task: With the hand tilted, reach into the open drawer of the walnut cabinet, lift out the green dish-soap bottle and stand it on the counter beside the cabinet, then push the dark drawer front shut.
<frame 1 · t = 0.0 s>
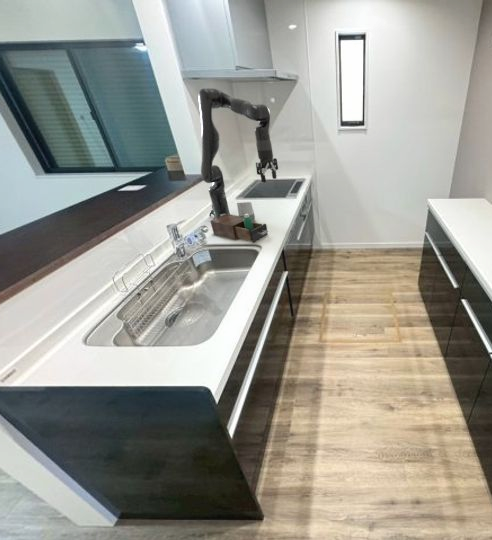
hand: (269, 180, 161), 29 cm above the table, tool pointing down, fingers open, 8 cm apart
cabinet: (232, 233, 174), on the table
soap bottle: (250, 234, 167), point 2 cm above the table, touching drawer
drawer: (251, 231, 165), point 4 cm above the table, slide at 12.0 cm, touching soap bottle
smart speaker: (248, 222, 188), on the table
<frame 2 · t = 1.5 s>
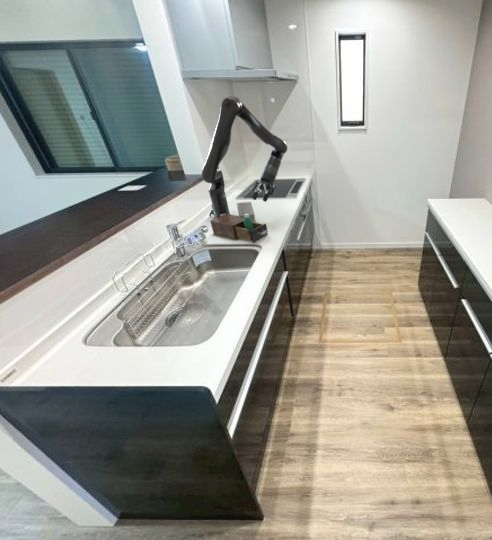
hand: (259, 200, 167), 19 cm above the table, tool tilted 45°, fingers open, 8 cm apart
nothing on the table moved.
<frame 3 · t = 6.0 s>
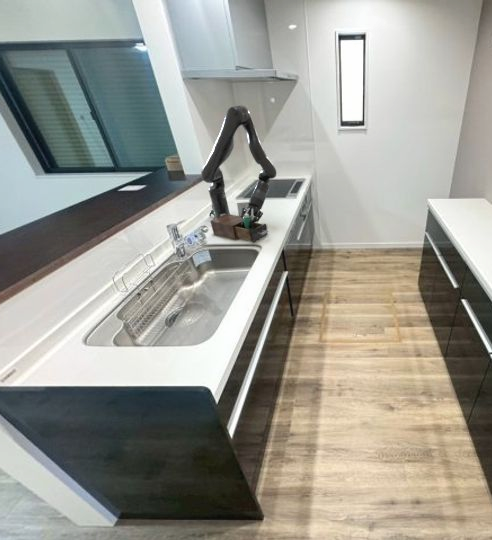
hand: (246, 226, 162), 8 cm above the table, tool tilted 45°, fingers closed on soap bottle, 4 cm apart
soap bottle: (250, 234, 167), point 2 cm above the table, touching drawer, gripper
everything else where it was.
when the fingers open (5 cm above the table, at t = 15.2 s): soap bottle stays where it is, on the table.
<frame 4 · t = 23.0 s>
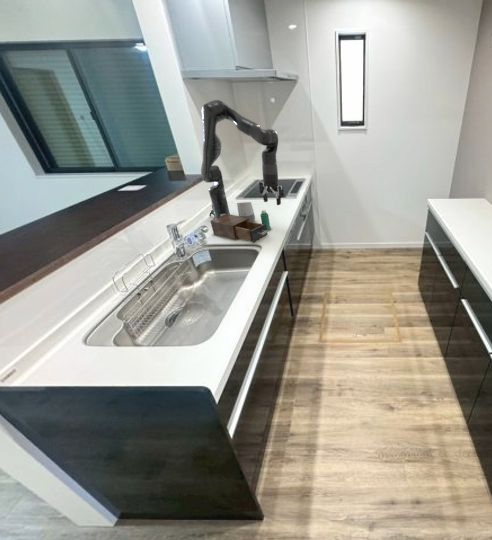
hand: (272, 203, 159), 19 cm above the table, tool pointing down, fingers open, 8 cm apart
soap bottle: (266, 229, 177), on the table
drawer: (251, 231, 165), point 4 cm above the table, slide at 12.0 cm
everything else where it was.
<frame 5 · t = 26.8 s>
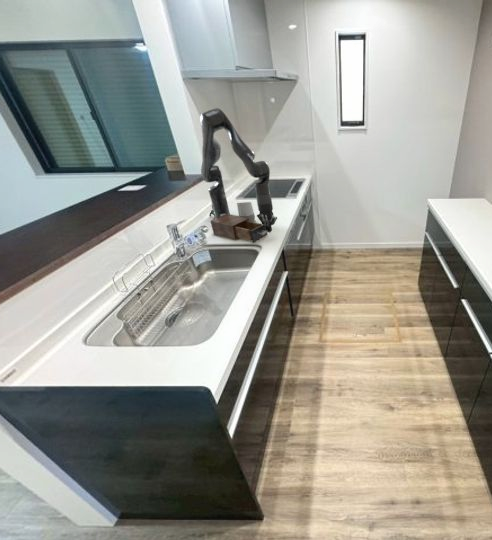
hand: (269, 231, 165), 4 cm above the table, tool pointing down, fingers closed
drawer: (251, 231, 165), point 4 cm above the table, slide at 11.9 cm, touching gripper
everything else where it was.
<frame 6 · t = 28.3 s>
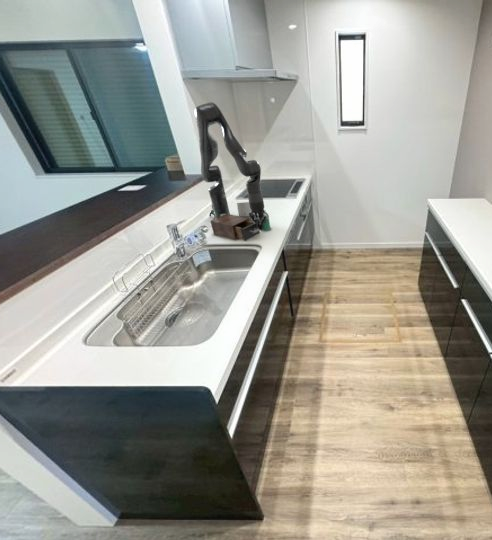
hand: (261, 229, 167), 4 cm above the table, tool pointing down, fingers closed
drawer: (243, 229, 167), point 4 cm above the table, slide at 6.0 cm, touching gripper
everything else where it was.
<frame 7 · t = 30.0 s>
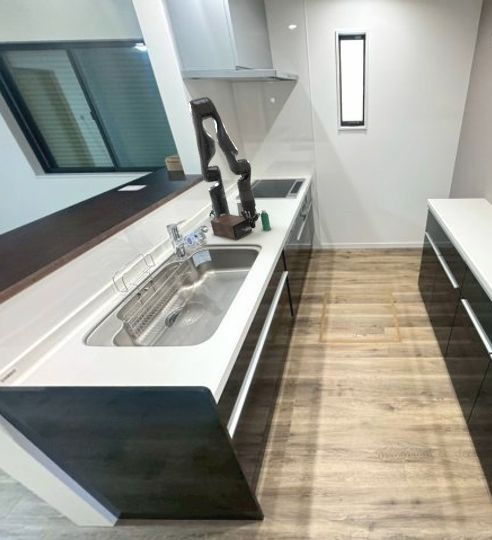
hand: (253, 227, 170), 4 cm above the table, tool pointing down, fingers closed
drawer: (236, 227, 170), point 4 cm above the table, slide at 0.0 cm, touching cabinet, gripper
everything else where it was.
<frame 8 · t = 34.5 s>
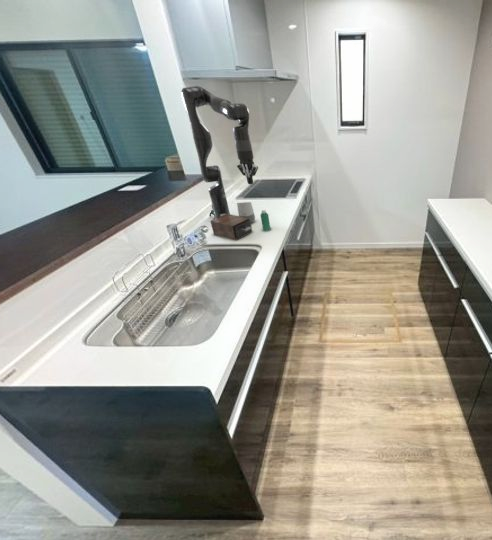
hand: (250, 184, 157), 29 cm above the table, tool pointing down, fingers closed
drawer: (236, 227, 170), point 4 cm above the table, slide at 0.0 cm
everything else where it was.
at the end: soap bottle inside the target area (0.1 cm from its centre), on the table; soap bottle tilted 0°; drawer slide at 0.0 cm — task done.
